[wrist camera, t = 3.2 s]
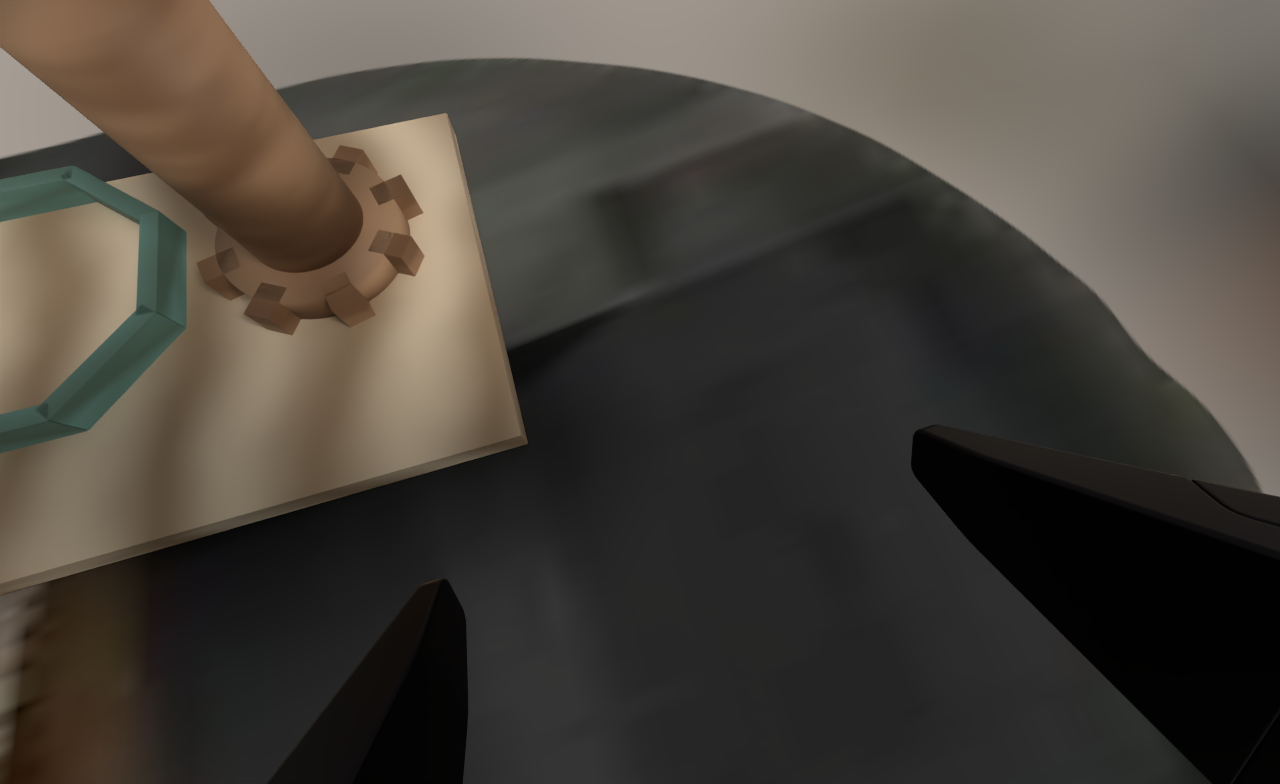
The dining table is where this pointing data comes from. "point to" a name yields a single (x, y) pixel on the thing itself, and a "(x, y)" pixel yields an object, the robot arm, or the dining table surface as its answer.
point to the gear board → (224, 367)
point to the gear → (225, 152)
